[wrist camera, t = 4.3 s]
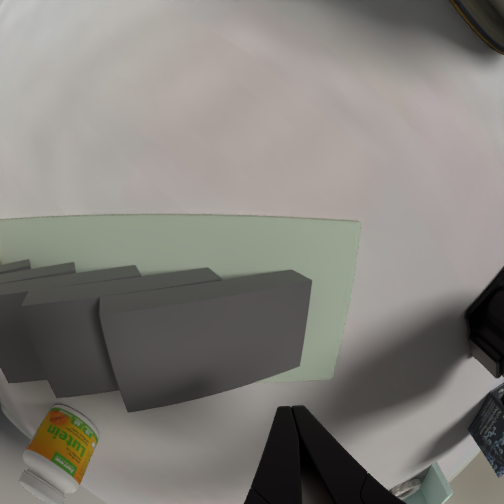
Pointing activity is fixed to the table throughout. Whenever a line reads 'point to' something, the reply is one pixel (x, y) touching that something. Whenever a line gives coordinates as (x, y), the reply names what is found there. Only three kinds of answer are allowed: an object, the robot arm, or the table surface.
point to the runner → (209, 259)
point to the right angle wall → (425, 488)
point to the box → (491, 430)
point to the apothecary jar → (484, 19)
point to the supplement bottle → (58, 454)
